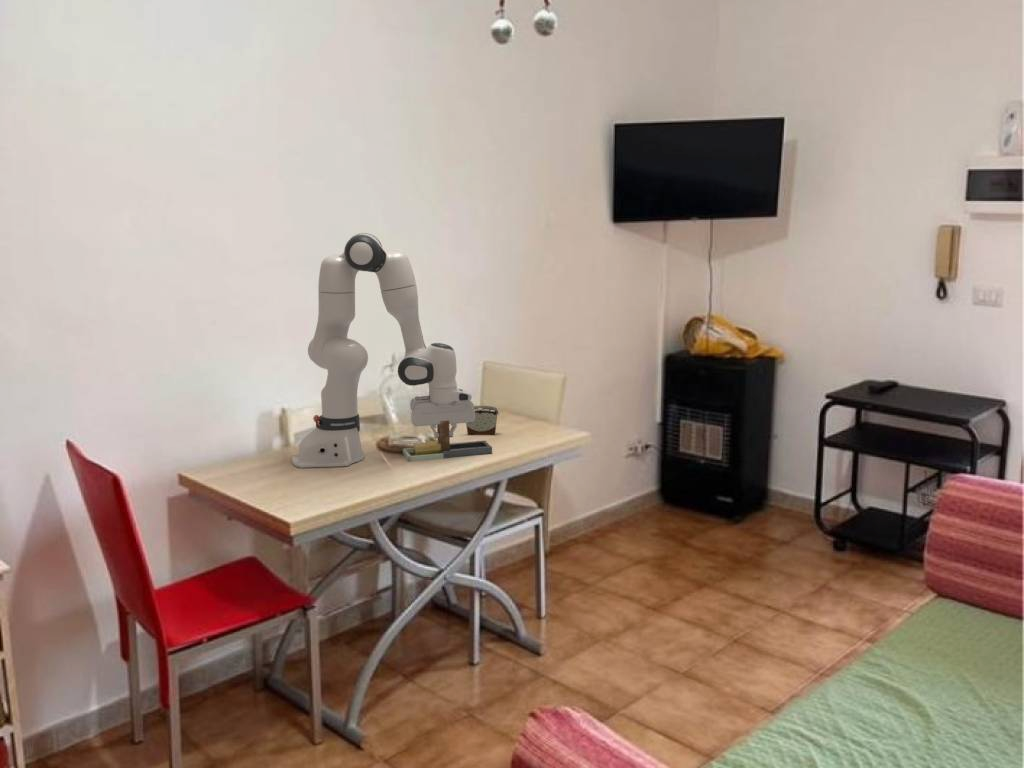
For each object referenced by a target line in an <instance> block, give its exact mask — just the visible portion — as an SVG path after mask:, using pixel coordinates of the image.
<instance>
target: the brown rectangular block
mask: <svg viewBox="0 0 1024 768" xmlns="http://www.w3.org/2000/svg"><path fill="white" fill-rule="evenodd" d="M440 422H441V423H440V425H436V429H437V430H436V432H439V433H440V435H439V436H440V438H437V441H439V443H440V444H441V453H442V450H450V444H451V441H450V440H451V439H450V438H451V437H450V434H449V431H450V424H449V421H440Z"/></svg>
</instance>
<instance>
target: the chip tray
mask: <svg viewBox="0 0 1024 768" xmlns="http://www.w3.org/2000/svg"><path fill="white" fill-rule="evenodd" d="M402 454H403V456H404V457H405V458H406V459H407V461H408V462H417V461H418V462H419V461H430V460H439V459H441V460H442V459H445V458H444V457H443V453H440V454H428V455H417V456H414V455H411V454H413V447H407V448H405V447H404V448H402Z"/></svg>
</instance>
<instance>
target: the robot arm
mask: <svg viewBox="0 0 1024 768" xmlns="http://www.w3.org/2000/svg"><path fill="white" fill-rule="evenodd" d="M382 245H383V244H382V243H381V241H380V240H379V239H378V237H376V236H375V235H373V234H372V233H368V232H360V233H356V234H354V235H352V236H351V237H350V238H349V240H348V241H347V242H346V244H345V246H344V249H343V250H344V251H343V253H341V254H332V255H329V256H326V257H325V258H324V259H322V261H321V263H320V268H319V275H318V287H317V288H318V291H317V292H318V317H317V323H316V326H315V327H316V328H315V331H314V335H313V338H312V339H311V340H310V342H309V344H308V346H307V354H308V355H307V356H308V357H309V359H310V360H311V362H313V363H314V364H315V365H316V366H317V367H320V368H321V369H323V370H327V376H326V382H325V385H324V386H323V388H322V389H321V391H320V396H321V397H320V398H321V415H317V414H316V415H314V416H313V418H312V420H313V421H314V423H315V428H314V429H313V430H312V431H311V432H309V433H308V434H307V435H306V436H305V437H303V438H302V439H301V440H300V444H299V446H298V453H295V454H294V455H293V456H292V458H291V463H292V465H293V466H295V467H296V468H300V469H301V468H302V469H303V468H304V469H305V468H326V467H327V468H331V467H348V466H351V465H352V464H354V463H357V462H360V461H362V460H363V459H365V458H366V457H365V454H364V450H363V447H362V443H361V437H360V431H361V418H360V414H359V411H358V387H359V381H360V378H361V375H362V372H363V371H364V370H365V368H366V367H367V365H368V361H369V355H368V351H367V349H366V348H365V347H364V346H363V344H361V343H359V342H358V341H357V340H356V339H355V340H354V339H351V338H348V335H349V334H348V333H349V330H350V326H351V323H352V322H353V321H354V319H355V317H356V277H357V274H358V273H359V272H369V273H374V274H375V275H376V276H377V279H378V282H379V288H380V293H381V298H382V302H383V304H384V307H385V309H386V312H387V313H388V314H390V315H391V316H392V317H393V318H394V319H395V320H396V321H397V322H398V324H399V328H400V332H401V336H402V340H403V344H404V348H405V349H404V350H405V352H404V357H403V358H402V360H401V361H400V363H399V364H398V367H397V375H398V378H399V379H400V380H401V382H402V383H404V385H407V386H413V387H414V386H419V385H424V384H428V395H423V396H415V397H414V398H412V399H411V400H410V405H409V406H410V409H411V413H410V414H411V416H410V422H411V424H412V425H413V427H428V426H429V427H430V429H431V431H432V432H433V438H434V439H438V438H440V436H439V435H440V433H439V432H437V430H436V429H437V425H440V423H441V422H440V421H449V425H450V426H451V428H450V429H449V434H450V438H454V433H455V430H456V428H457V425H458V424H466V423H468V422H473V421H474V420H475V409H474V406H475V404H474V402H473V401H471V400H472V394H471V392H469V391H467V390H466V389H461V388H457V387H458V384H457V380H456V375H457V369H458V368H457V356H456V352H455V349H454V348H453V347H452V345H451V346H450V345H448V344H446V343H443V342H442V343H440V342H433V343H431V344H430V345H428V346H426V344H425V340H424V336H423V332H422V327H421V322H420V318H419V317H420V316H419V295H418V289H417V283H416V282H417V281H416V278H415V273H414V270H413V268H412V265H411V262H410V259H409V257H408V255H407V254H405V252H402V251H399V250H398V251H397V250H393V251H392V250H391V251H386V250H385V249H384V248H383V246H382Z"/></svg>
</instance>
